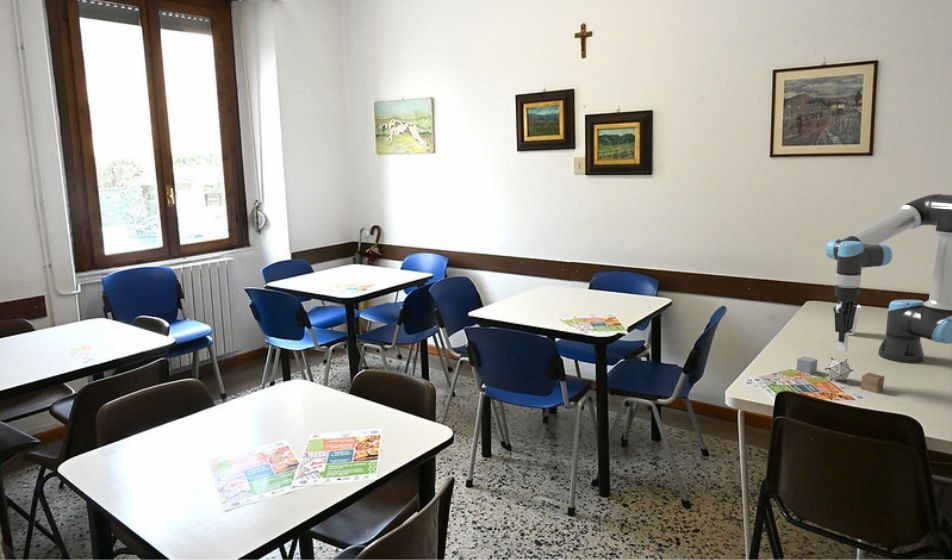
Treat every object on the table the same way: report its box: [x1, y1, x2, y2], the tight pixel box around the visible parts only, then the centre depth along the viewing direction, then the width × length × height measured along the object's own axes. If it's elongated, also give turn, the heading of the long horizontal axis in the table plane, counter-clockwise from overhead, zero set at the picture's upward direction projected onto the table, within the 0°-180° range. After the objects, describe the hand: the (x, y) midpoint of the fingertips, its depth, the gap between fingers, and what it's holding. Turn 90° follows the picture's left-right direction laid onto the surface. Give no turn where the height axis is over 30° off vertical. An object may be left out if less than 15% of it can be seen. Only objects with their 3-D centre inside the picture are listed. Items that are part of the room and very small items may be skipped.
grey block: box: [796, 355, 819, 375], centre depth 245 cm, size 5×5×5 cm
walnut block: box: [860, 372, 885, 394], centre depth 227 cm, size 5×5×5 cm
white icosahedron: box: [824, 357, 854, 383], centre depth 236 cm, size 9×8×10 cm
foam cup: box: [836, 303, 862, 336], centre depth 292 cm, size 10×9×13 cm
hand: (842, 350), depth 234 cm, fingers closed
